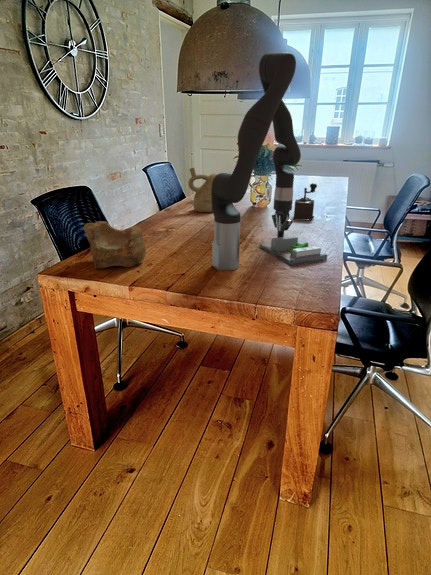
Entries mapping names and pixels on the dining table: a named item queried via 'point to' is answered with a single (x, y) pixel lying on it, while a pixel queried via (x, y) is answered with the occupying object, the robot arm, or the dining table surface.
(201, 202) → the ceramic vessel
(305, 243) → the pipe clamp
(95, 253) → the rough brown rock
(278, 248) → the block
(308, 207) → the manual coffee grinder
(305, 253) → the vise
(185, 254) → the dining table surface
